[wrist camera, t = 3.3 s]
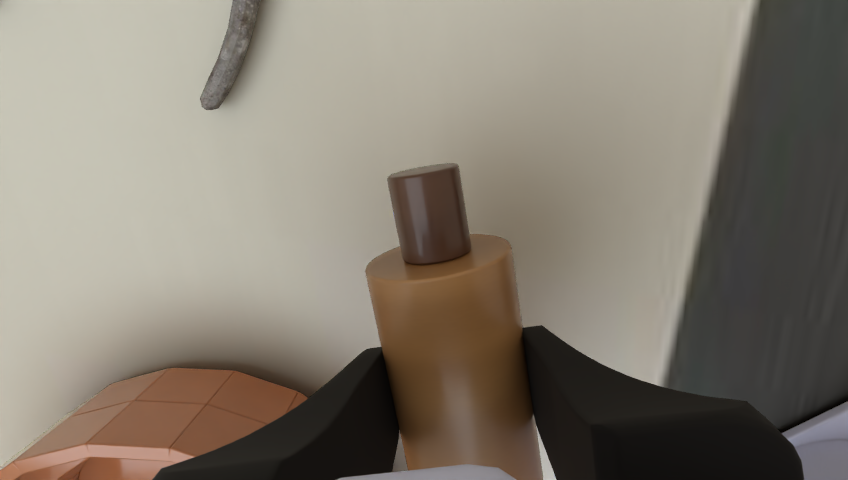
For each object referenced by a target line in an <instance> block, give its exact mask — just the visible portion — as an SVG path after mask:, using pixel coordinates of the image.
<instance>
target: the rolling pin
mask: <svg viewBox="0 0 848 480" xmlns="http://www.w3.org/2000/svg"><path fill="white" fill-rule="evenodd" d="M387 181H388V187H389V192H390V197H391V202H392V207H393V212H394V217H395V222H396V227H397V233H398V238H399V243H400V247H397V248H394V249H392V250H389V251H387V252H385V253H383V254H381V255H379V256H378V257H376V258H375V259H373V260H372V261H371V262H370V263H369V264H368V265H367V267H366V271H365V272H366V278H367V282H368V287H369V291H370V296H371V301H372V305H373V310H374V315H375V319H376V324H377V328H378V333H379V338H380V342H381V347H382V351H383V356H384V361H385V365H386V370H387V375H388V379H389V384H390V388H391V393H392V398H393V402H394V407H395V411H396V416H397V421H398V425H399V430H400V434H401V439H402V444H403V448H404V453H405V458H406V462H407V467H408V471H409V470H418V469H427V468H437V467H446V466H455V465H465V464H470V465H479V466H487V467H496V468H499V469H501V470H502V471H504V472H506V473H507V474H509V475H510V476H512V477H513V478H515V479H516V480H543V473H542V466H541V458H540V451H539V444H538V436H537V429H536V422H535V418H534V414H533V406H532V399H531V392H530V384H529V377H528V369H527V362H526V355H525V347H524V340H523V327H522V319H521V312H520V305H519V297H518V290H517V283H516V275H515V268H514V261H513V253H512V247H511V245H510V243H509V242H508V241H507V240H505V239H503V238H501V237H497V236H492V235H484V234H469V228H468V222H467V215H466V209H465V203H464V196H463V190H462V184H461V177H460V171H459V166H458V165H457V164H454V163H447V164H437V165H430V166H424V167H419V168H414V169H409V170H405V171H401V172H397V173H394V174H391V175H390V176H388V178H387Z"/></svg>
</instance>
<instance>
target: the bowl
mask: <svg viewBox="0 0 848 480" xmlns="http://www.w3.org/2000/svg"><path fill="white" fill-rule="evenodd" d="M307 399H308V397H306V396H305V395H303V394H302V393H300V392H298V391H296V390H293V389H290V388H287V387H284V386H281V385H278V384H275V383H272V382H269V381H266V380H263V379H260V378H257V377H254V376H251V375H248V374H245V373H242V372H239V371H234V370H213V369H191V368H168V369H164V370H160V371H156V372H152V373H149V374H145V375H141V376H137V377H134V378H130V379H126V380H122V381H119V382H115V383H113V384H110V385H109V386H107V387H106V388H104V389H103V390H101V391H100V392H99V393H97V394H96V395H94V396H93V397H91V398H90V399H88V400H87V401H86V402H84V403H83V404H81V405H80V406H78V407H77V408H76V409H74V410H73V411H71V412H70V413H69V414H67V415H66V416H65V417H63V418H62V419H61V420H60V421H58V422H57V423H56V424H54V425H53V426H52V427H51V428H49V429H48V430H47V431H45V432H44V433H43V434H42V435H40V436H39V437H38V438H36V439H35V440H34V441H33V442H31V443H30V444H29V445H27V446H26V447H25V448H24V449H22V450H21V451H20V452H18V453H17V454H16V455H15V456H13V457H12V458H11V459H9V460H8V461H7V462H6V463H4V464H3V465H2V466H0V480H152V479H153V478H154V477H155V475H156V474H157V473H158V472H159V471H160V469H161V468H164V467H167V466H170V465H173V464H176V463H179V462H182V461H185V460H188V459H191V458H194V457H196V456H199V455H202V454H205V453H208V452H210V451H213V450H215V449H218V448H220V447H222V446H225V445H227V444H229V443H232V442H234V441H236V440H238V439H240V438H243V437H245V436H247V435H249V434H251V433H253V432H254V431H256V430H258V429H260V428H262V427H264V426H265V425H267V424H269V423H271V422H273V421H275V420H276V419H278V418H280V417H281V416H283V415H285V414H286V413H288V412H289V411H291V410H292V409H294V408H295V407H297V406H298V405H300V404H301V403H303V402H304V401H305V400H307Z"/></svg>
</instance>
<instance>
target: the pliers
mask: <svg viewBox="0 0 848 480" xmlns="http://www.w3.org/2000/svg"><path fill="white" fill-rule="evenodd" d="M259 2H260V0H233V3H232V9H231V14H230V19H229V25H228V29H227V32H226V35H225V38H224V41H223V44H222V48H221V51H220V54H219V57H218V59H217V61H216V63H215V66H214V68H213V70H212V72H211V74H210V76H209V79H208V81H207V83H206V86H205V88H204V90H203V93H202V95H201V97H200V100H201V104H202V107H203V108H204V109H206V110H213V109H217V108H219V106H220V105H221V103H222V102H223V100H224V99H225V97H226V96H227V94H228V93H229V91H230V89H231V87H232V85H233V83H234V80H235V78H236V76H237V74H238V72H239V70H240V68H241V65H242V63H243V60H244V57H245V54H246V51H247V48H248V46H249V43H250V40H251V37H252V32H253V28H254V24H255V20H256V15H257V11H258V7H259Z"/></svg>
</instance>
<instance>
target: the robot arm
mask: <svg viewBox="0 0 848 480" xmlns="http://www.w3.org/2000/svg"><path fill="white" fill-rule="evenodd" d="M523 340H524V347H525V355H526V362H527V369H528V377H529V384H530V392H531V399H532V406H533V414H534V418H535V422H536V426H537V428H538V431H539V434H540V436H541V439H542V442H543V444H544V447H545V450H546V452H547V455H548V458H549V460H550V463H551V466H552V468H553V471H554V474H555V476H556V479H557V480H848V401H847V402H845V403H843V404H841V405H839V406H837V407H835V408H833V409H830V410H828V411H826V412H824V413H822V414H820V415H818V416H816V417H814V418H812V419H810V420H808V421H806V422H804V423H802V424H800V425H798V426H796V427H793V428H791V429H789V430H787V431H785V432H783V433H780V432H779V430H778V429H777V428H776V427H775V426H774V425H773V424H772V423H771V422H770V421H769V420H768V419H767V418H766V417H764V416H763V415H762V414H761V413H760V412H759V411H757V410H756V409H755V408H754V407H753V406H752V405H750V404H749V403H748V402H747V401H740V400H732V399H724V398H716V397H707V396H701V395H696V394H691V393H686V392H681V391H676V390H672V389H668V388H664V387H660V386H657V385H654V384H650V383H647V382H644V381H641V380H638V379H635V378H632V377H630V376H627V375H625V374H622V373H620V372H618V371H615V370H613V369H611V368H608V367H606V366H604V365H602V364H600V363H598V362H597V361H595V360H593V359H591V358H589V357H587V356H586V355H584V354H582V353H581V352H579V351H577V350H576V349H574V348H573V347H571V346H570V345H568V344H567V343H565V342H564V341H562V340H561V339H560V338H558V337H557V336H555V335H554V334H553V333H551V332H550V331H549V330H547V329H546V328H545V327H543V326H542V325H541V326H534V327H526V328H523ZM398 439H399V425H398V421H397V416H396V411H395V407H394V402H393V398H392V393H391V388H390V384H389V379H388V375H387V370H386V365H385V361H384V356H383V351H382V347H377V348H370V349H366V350H365V351H363V352H362V353H361V354H360V355H358V356H357V357H356V358H355V359H354V360H353V361H352V362H351V363H349V364H348V365H347V366H346V367H345V368H344V369H343V370H342V371H341V372H339V373H338V374H337V375H336V376H335V377H334V378H333V379H332V380H330V381H329V382H328V383H327V384H325V385H324V386H323V387H322V388H320V389H319V390H318V391H317V392H316V393H314V394H313V395H312V396H311V397H309V398H308V399H307V400H305V401H304V402H303V403H301V404H300V405H298V406H297V407H295V408H294V409H292V410H291V411H289V412H288V413H286V414H285V415H283V416H281V417H280V418H278V419H276V420H275V421H273V422H271V423H269V424H267V425H265V426H264V427H262V428H260V429H258V430H256V431H254V432H253V433H251V434H249V435H247V436H245V437H243V438H240V439H238V440H236V441H234V442H232V443H229V444H227V445H225V446H222V447H220V448H218V449H215V450H213V451H210V452H208V453H205V454H202V455H199V456H196V457H194V458H191V459H188V460H185V461H182V462H179V463H176V464H173V465H170V466H167V467H164V468H161V469H160V471H159V472H158V473H157V474H156V475H155V477H154V478H153V479H152V480H516V479H515V478H513V477H512V476H510V475H509V474H507V473H506V472H504V471H502V470H501V469H499V468H496V467H487V466H479V465H470V464H465V465H455V466H446V467H437V468H427V469H418V470H409V471H399V472H392V469H393V464H394V459H395V454H396V449H397V444H398Z"/></svg>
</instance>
